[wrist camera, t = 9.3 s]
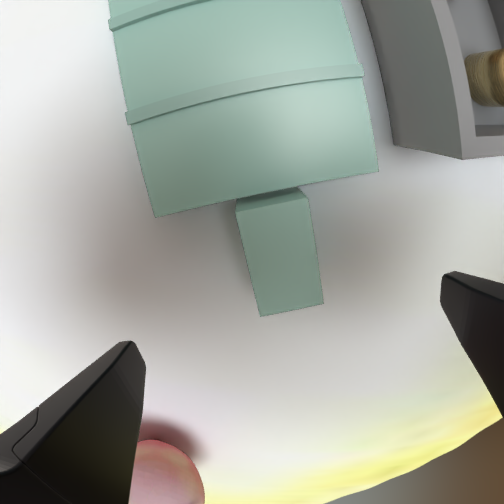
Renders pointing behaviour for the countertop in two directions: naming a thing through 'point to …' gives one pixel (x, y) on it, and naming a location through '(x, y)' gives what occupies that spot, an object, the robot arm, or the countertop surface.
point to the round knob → (486, 77)
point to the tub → (437, 73)
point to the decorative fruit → (164, 476)
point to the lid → (246, 120)
